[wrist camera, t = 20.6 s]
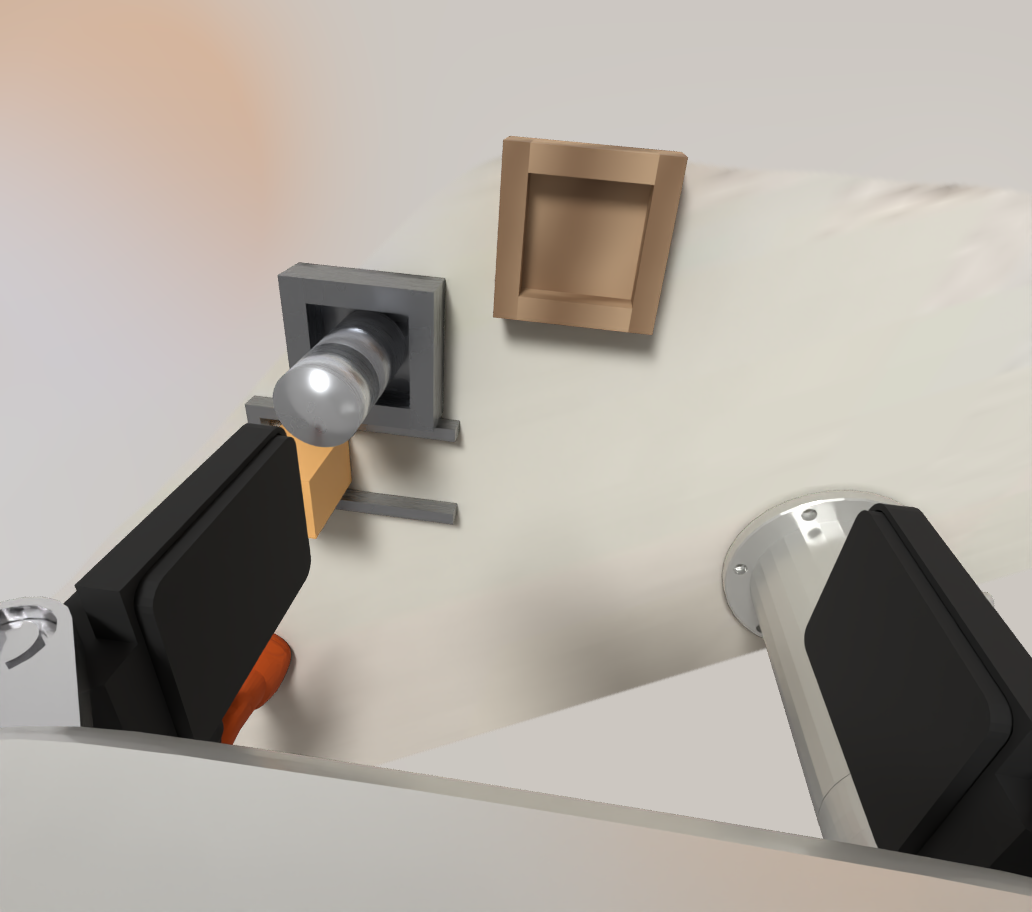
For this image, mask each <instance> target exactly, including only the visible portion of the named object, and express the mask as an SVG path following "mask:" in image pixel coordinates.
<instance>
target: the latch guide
mask: <svg viewBox="0 0 1032 912" xmlns="http://www.w3.org/2000/svg"><path fill="white" fill-rule="evenodd" d="M245 408H246V414H247V419H248V423H253V424H261V425H269V426H271V420H270V419H273V420H279V419H278V417H277V415H276V412H275V410H274V405H273V398H269V397H260V396H254V397H252V398H251V399H250V400H249V401H248V402H247V403H246V404H245ZM357 430H362V431H370V432H378V433H387V434H395V435H403V436H411V437H419V438H427V439H435V440H443V441H451V442H455V441H456V438H457V436H458V433H459V421H458V420H449V419H441V418H440V419H439V421H438V423H437V425H436V427H435V430H434V432H426V431H418V430H410V429H402V428H394V427H386V426H377V425H369V424H361V425H360V426H359V428H358V429H357ZM335 509H340V510H348V511H355V512H363V513H371V514H378V515H386V516H393V517H401V518H409V519H416V520H424V521H431V522H439V523H446V524H453V522H454V519H455V516H456V513H457V504H456V503H449V502H441V501H433V500H425V499H418V498H410V497H402V496H395V495H387V494H379V493H371V492H364V491H356V490H348V489H347V490H346V491H345V493H344V495H343V496H342V498H341V499H340V501H339V503H338V504H337V506H336V507H335Z"/></svg>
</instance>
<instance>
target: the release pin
mask: <svg viewBox="0 0 1032 912" xmlns="http://www.w3.org/2000/svg"><path fill="white" fill-rule="evenodd" d="M280 427H281V428H283V429H284V430H285V432H286V434H287V436H289V437H292V438H294V440H295V442H296V447H297V454H298V462H299V470H300V477H301V485H302V493H303V501H304V508H305V516H306V524H307V532H308V538H313V539H316V538H317V537H318V535H319V533H320V532H321V530H322V529H323V527H324V525H325V524H326V522H327V520H328V519H329V517H330V516H331V514H332V512H333V511H334V509H335V507H336V506H337V504H338V503H339V501H340V499H341V498H342V496H343V495H344V493H345V491H346V490H347V488H348V486H349V485H350V483H351V482H352V479H351V467H350V454H349V442H348V441H346V442H345V443H343V444H341V445H338V446H334V447H318V446H313V445H310V444H307V443H305V442H303V441H301V440H299V439H297V438H296V437H294V436H293V435H292V434H291V433H289V432H288V431H287V430H286V429H285V427H284V426H283V425H281V426H280Z"/></svg>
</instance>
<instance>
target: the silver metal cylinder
mask: <svg viewBox="0 0 1032 912" xmlns="http://www.w3.org/2000/svg"><path fill="white" fill-rule="evenodd" d="M405 357H406V342H405V338H404V335H403V333H402V331H401V330H400V328H399V327H398V326H397V324H396V323H395V322H394V321H393V320H391V319H390V318H389V317H387V316H386V315H384V314H382V313H380V312H376V311H369V310H360V311H356V312H353V313H351V314H349V315H348V316H347V317H345V318H344V319H343V320H342V321H341V322H340V323H339V324H338V325H337V326H336V327H335V328H334V329H332V330H331V331H330V332H329V333H328V334H327V335H326V336H325V337H324V338H323V339H322V340H321V341H320V342H319V343H317V344H316V345H315V346H314V347H313V348H312V349H311V350H310V351H309V352H308V353H307V354H306V355H305V356H303V357H302V358H301V359H300V360H299V361H298V362H297V363H296V364H295V365H294V366H293V367H292V368H291V369H290V370H288V371H287V372H286V373H285V374H284V375H283V376H282V377H281V378H280V379H279V380H278V382H277V384H276V386H275V388H274V392H273V405H274V410H275V412H276V415H277V417H278V419H279V420H280V422H281V424H282V425H283V426H284V427H285V429H286V430H287V431H288V432H289V433H291V434H292V435H293V436H294V437H296V438H297V439H299V440H301V441H303V442H305V443H307V444H310V445H313V446H318V447H334V446H338V445H341V444H343V443H345V442H346V441H348V440H349V439H350V438H351V437H352V436H353V435H354V433H355V432H356V431H357V429H358V428H359V426H360V425H361V423H362V422H363V421H364V419H365V418H366V416H367V415H368V413H369V412H370V410H371V409H372V408H373V406H374V405H375V403H376V402H377V400H378V399H379V397H380V396H381V395H382V393H383V392H384V390H385V389H386V387H387V386H388V384H389V383H390V382H391V380H392V379H393V377H394V376H395V374H396V373H397V372H398V370H399V369H400V367H401V366H402V364H403V362H404V360H405Z"/></svg>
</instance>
